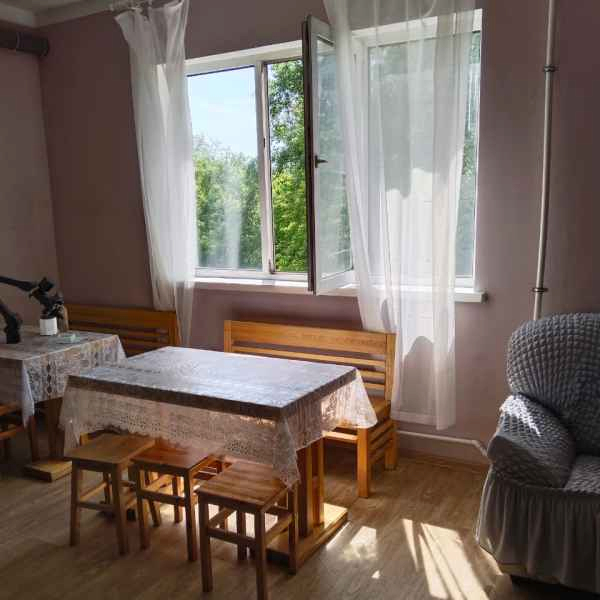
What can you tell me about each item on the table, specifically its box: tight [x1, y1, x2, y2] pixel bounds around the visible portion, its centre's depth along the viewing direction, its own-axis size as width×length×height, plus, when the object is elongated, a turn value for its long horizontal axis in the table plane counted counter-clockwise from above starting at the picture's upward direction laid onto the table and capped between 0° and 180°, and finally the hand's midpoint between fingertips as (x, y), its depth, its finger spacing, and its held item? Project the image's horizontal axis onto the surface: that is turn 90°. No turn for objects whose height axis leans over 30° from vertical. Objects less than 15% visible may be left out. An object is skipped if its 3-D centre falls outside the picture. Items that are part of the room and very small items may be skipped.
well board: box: [44, 333, 86, 345], centre depth 338 cm, size 18×12×3 cm, turn 94°
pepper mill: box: [57, 304, 70, 334], centre depth 336 cm, size 5×5×14 cm
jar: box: [39, 312, 58, 336], centre depth 354 cm, size 9×8×12 cm
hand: (65, 318), depth 336 cm, fingers closed on pepper mill, 5 cm apart
